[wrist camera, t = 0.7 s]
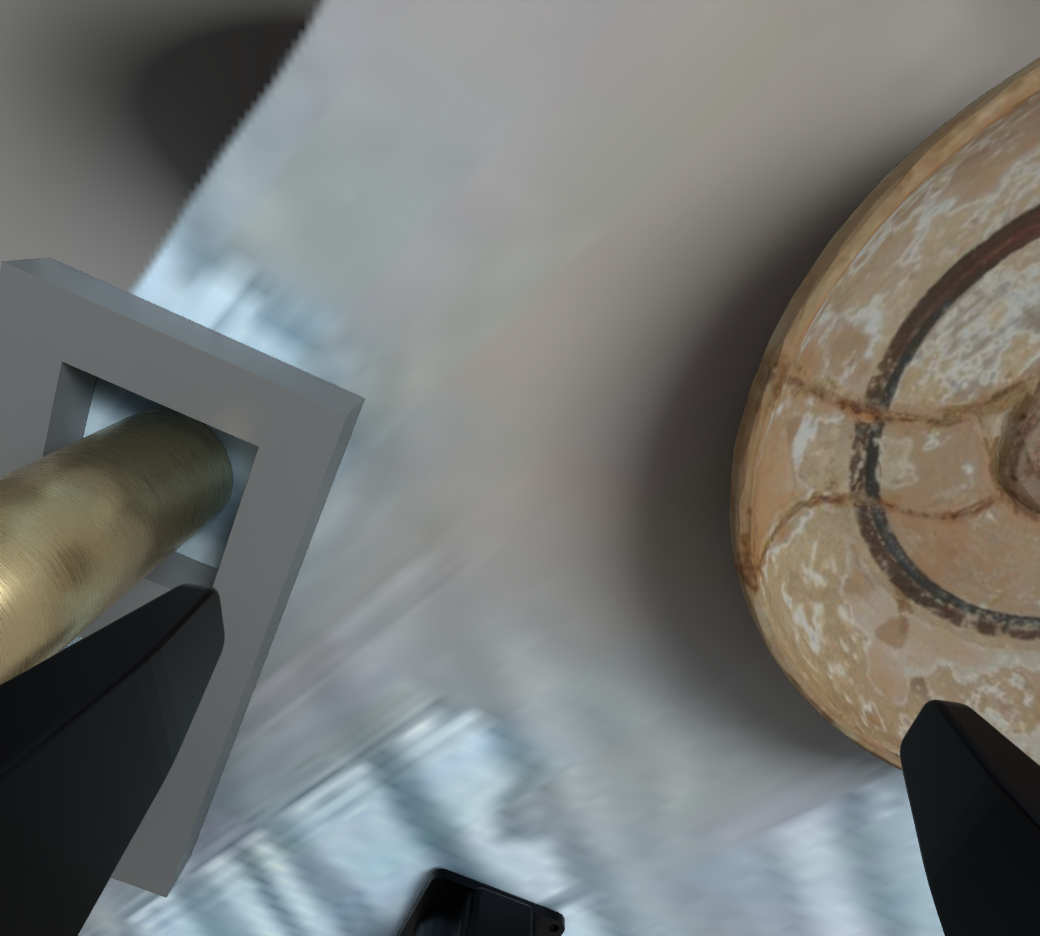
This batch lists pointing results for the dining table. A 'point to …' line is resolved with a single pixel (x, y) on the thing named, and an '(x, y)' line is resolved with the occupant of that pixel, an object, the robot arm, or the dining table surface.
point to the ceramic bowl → (908, 444)
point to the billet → (99, 525)
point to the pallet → (261, 514)
